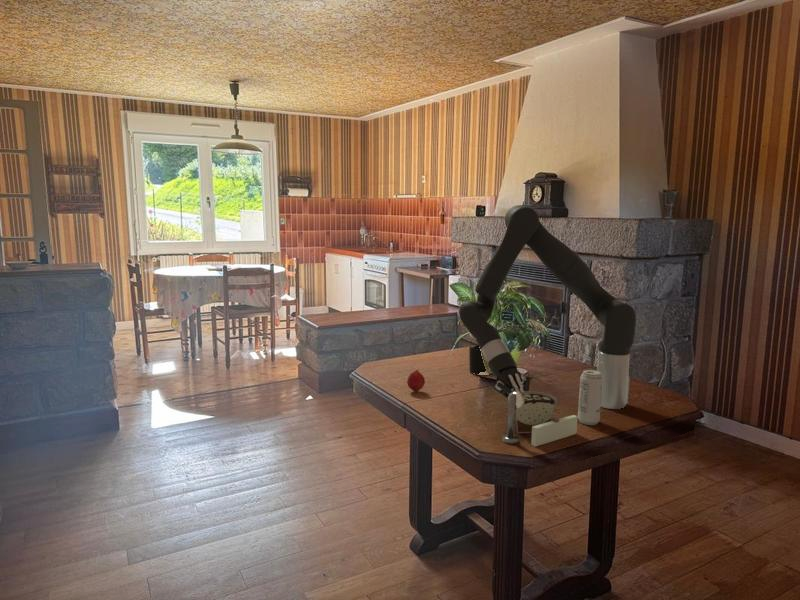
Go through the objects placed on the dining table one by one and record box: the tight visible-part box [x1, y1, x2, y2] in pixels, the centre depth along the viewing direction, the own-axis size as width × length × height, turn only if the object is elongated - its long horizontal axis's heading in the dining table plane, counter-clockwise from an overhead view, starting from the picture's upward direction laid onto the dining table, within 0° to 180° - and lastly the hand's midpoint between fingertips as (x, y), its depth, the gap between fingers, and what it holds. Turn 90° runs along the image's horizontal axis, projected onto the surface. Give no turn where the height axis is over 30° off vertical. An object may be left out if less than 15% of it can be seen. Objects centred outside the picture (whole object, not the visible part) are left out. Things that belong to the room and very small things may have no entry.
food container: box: [514, 390, 558, 434], centre depth 153 cm, size 12×6×10 cm, turn 95°
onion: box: [406, 368, 426, 393], centre depth 183 cm, size 6×6×8 cm
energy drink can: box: [577, 369, 603, 426], centre depth 158 cm, size 6×6×15 cm
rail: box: [530, 414, 578, 448], centre depth 146 cm, size 16×1×6 cm, turn 123°
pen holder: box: [468, 344, 486, 374], centre depth 206 cm, size 9×9×10 cm
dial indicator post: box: [502, 391, 524, 445], centre depth 144 cm, size 4×4×13 cm
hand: (526, 410), depth 154 cm, fingers closed
